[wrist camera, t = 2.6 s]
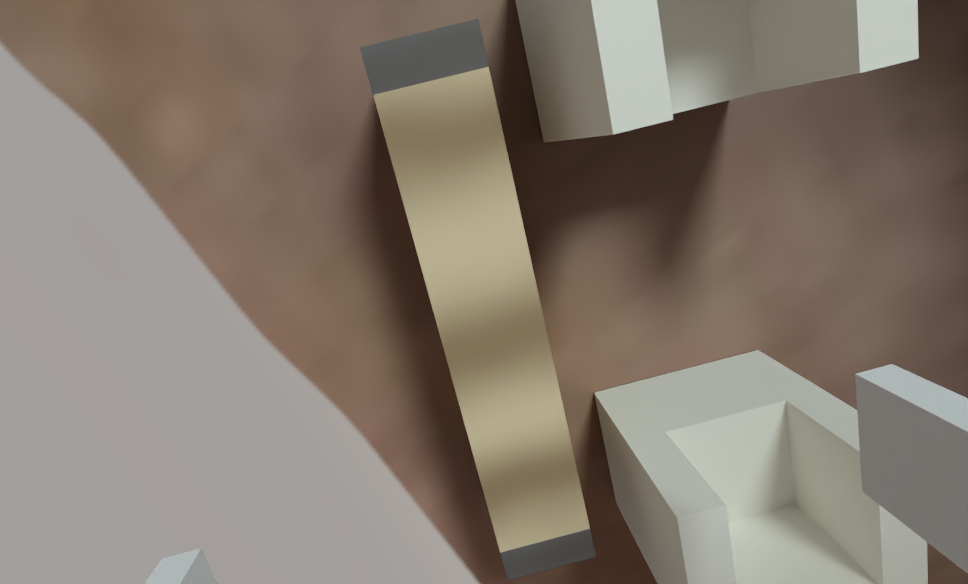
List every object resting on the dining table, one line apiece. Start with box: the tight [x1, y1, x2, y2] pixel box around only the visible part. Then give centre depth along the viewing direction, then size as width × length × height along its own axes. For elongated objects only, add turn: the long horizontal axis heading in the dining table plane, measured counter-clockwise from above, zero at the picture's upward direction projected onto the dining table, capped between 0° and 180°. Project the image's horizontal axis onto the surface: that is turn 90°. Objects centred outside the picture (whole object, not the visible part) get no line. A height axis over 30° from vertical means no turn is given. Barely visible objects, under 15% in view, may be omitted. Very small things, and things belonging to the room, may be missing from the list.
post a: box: [515, 0, 919, 143], centre depth 19 cm, size 7×9×10 cm
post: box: [594, 350, 928, 584], centre depth 24 cm, size 7×9×10 cm
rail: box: [360, 19, 596, 580], centre depth 23 cm, size 22×4×6 cm, turn 13°
